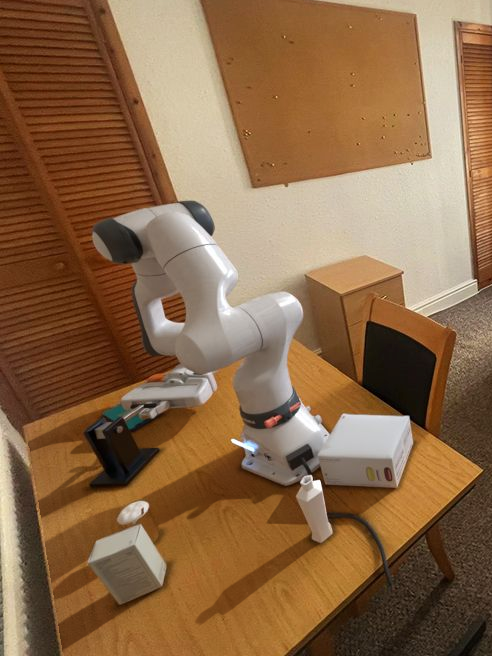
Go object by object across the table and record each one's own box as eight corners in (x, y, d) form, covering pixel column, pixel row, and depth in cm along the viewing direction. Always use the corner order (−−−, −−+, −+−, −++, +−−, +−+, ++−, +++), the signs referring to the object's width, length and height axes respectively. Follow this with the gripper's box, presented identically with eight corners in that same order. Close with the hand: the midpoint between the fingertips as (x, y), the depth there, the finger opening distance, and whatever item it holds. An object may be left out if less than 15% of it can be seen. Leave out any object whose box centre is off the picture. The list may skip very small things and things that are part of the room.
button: (167, 381, 120) (165, 375, 119) (153, 388, 117) (150, 382, 117) (162, 377, 122) (160, 371, 121) (148, 384, 119) (145, 378, 118)
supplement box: (324, 486, 91) (315, 455, 87) (348, 440, 103) (342, 412, 99) (397, 489, 90) (392, 458, 86) (413, 443, 102) (409, 414, 98)
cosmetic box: (167, 565, 76) (143, 521, 71) (162, 588, 72) (136, 544, 67) (124, 582, 73) (96, 539, 68) (116, 607, 69) (86, 563, 65)
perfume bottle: (327, 517, 84) (312, 465, 78) (338, 530, 81) (323, 477, 75) (305, 534, 81) (288, 481, 75) (316, 548, 78) (299, 494, 72)
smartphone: (132, 397, 118) (160, 412, 112) (133, 399, 118) (161, 414, 112) (100, 413, 112) (129, 430, 106) (102, 415, 112) (130, 432, 106)
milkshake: (149, 554, 77) (129, 519, 74) (127, 549, 78) (106, 514, 75) (172, 531, 82) (154, 497, 78) (151, 526, 83) (132, 492, 79)
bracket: (127, 452, 100) (104, 409, 95) (160, 450, 101) (139, 407, 95) (90, 488, 91) (63, 442, 86) (127, 486, 92) (101, 440, 86)
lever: (135, 409, 102) (133, 400, 101) (157, 408, 102) (155, 399, 101) (89, 439, 90) (86, 429, 89) (114, 438, 90) (112, 428, 90)
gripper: (141, 374, 112) (97, 409, 100) (216, 370, 113) (182, 404, 100) (149, 392, 115) (107, 428, 102) (223, 388, 116) (190, 424, 103)
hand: (145, 416), depth 101 cm, fingers closed
